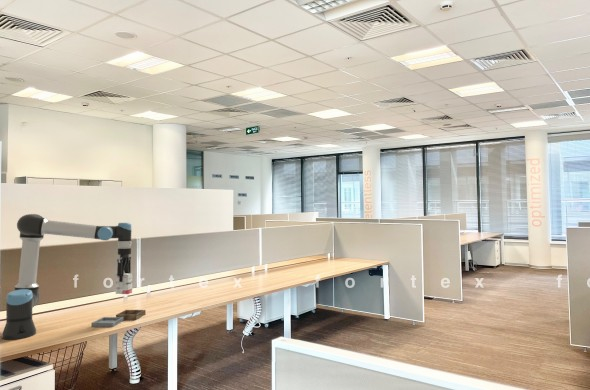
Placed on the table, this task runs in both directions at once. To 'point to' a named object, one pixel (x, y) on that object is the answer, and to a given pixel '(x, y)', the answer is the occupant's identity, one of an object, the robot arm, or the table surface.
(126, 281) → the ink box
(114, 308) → the table surface
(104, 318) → the tray
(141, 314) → the brown wooden box
